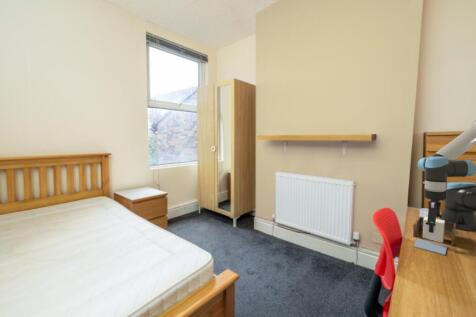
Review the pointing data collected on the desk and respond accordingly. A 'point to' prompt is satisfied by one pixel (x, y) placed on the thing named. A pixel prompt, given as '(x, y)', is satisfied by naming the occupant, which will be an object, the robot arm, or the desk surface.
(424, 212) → the medicine box
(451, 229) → the crate
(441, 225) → the cream block
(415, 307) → the desk surface
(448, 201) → the robot arm
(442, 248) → the felt pad
